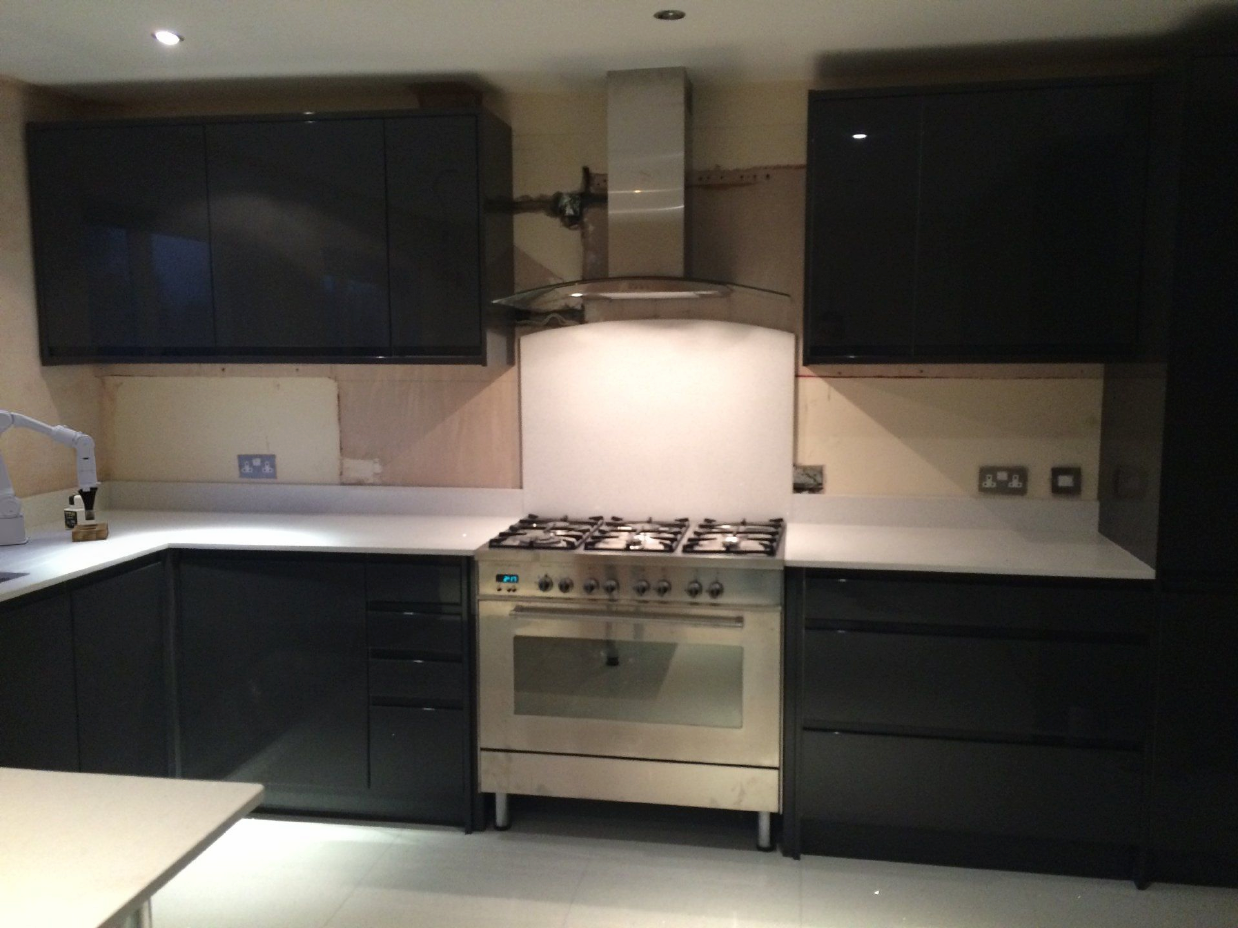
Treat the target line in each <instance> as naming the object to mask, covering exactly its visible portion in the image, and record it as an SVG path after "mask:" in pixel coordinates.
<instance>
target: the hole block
mask: <svg viewBox="0 0 1238 928" xmlns="http://www.w3.org/2000/svg"><path fill="white" fill-rule="evenodd" d="M108 535H109V522H98V523H96V524H84V525H75V527H74V528H73V529H71V540H72V541H71V543H79V542H80V541H81V542H90V541H103V540H105V541H106V540H107V538H108Z"/></svg>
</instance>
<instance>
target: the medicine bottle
mask: <svg viewBox="0 0 1238 928" xmlns="http://www.w3.org/2000/svg"><path fill="white" fill-rule="evenodd" d="M68 505H69V507H68V508H64V509H63V512H64V513H63V515H64V527H65V529H66V530H73V528H74V527H75V525H84V524H97V522H96V519H95V520H85V511H84V503H83V500H82V498H81V496H80V494H79V493H77V494H71V495H70V496H68ZM95 511H96V510H95V509H94V512H95Z"/></svg>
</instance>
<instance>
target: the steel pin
mask: <svg viewBox="0 0 1238 928" xmlns="http://www.w3.org/2000/svg"><path fill="white" fill-rule="evenodd" d="M94 510H95V505H94V506H93V510H89V511H86V510H85V507H84V511H85V520H95V521H96V514H95V512H94Z"/></svg>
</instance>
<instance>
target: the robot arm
mask: <svg viewBox="0 0 1238 928" xmlns="http://www.w3.org/2000/svg"><path fill="white" fill-rule="evenodd" d="M12 425H13V429H16V428H27V429H30V430H33V431H36V432H38V433H41V434H44V435H46V436H49V437H50V440H51V441H52V442H55V443H58V444H60V445H63V446H66V447H68V448H71V449H72V448H75V449H76V457H75V459H76V472H77V487H80V488H79V490H78V491H77V494H80V496H81V498H82V500H83V503H84V507H85V510H86V511H89V510H93V506H94V507H95V501H96V495H97V492H98V490H99V487H98V486H99V485H101V484H102V483H101V482H102V481H98V478H97V467H96V466H97V465H96V462H97V461H96V456H95V450H94V448H95V446H96V444H95V441H94V439H93V438H92V437H91V436H90V435H88V434H86V433H83V432H82V431H76V430H73V429H71V428H69V427H68V426H67V425H65V424H63V425H60V424H59V425H56V426H52V425H49V424H46V423H44V422H42V421H39V420H37V419H35V418H32V417H29V416H26V415H25V414H20V413H17V412H14V411H11V412H10V411H8V410H6V409H0V437H1V436H2V434H3V433H4V432H6V431H7V430H9V428H11V426H12ZM21 510H22V500H21V499H20V497H18V496H17V494H16V492H15V490H14V487H13V485H12V482H11V478H10V475H9V472H8V470H7V467H6V463H5V460H4V457H3V455H2V451H1V450H0V546H8V545H21V544H27V542H28V541H29V540H30V539H29V538H28V537H26V527H25V515H24V513H22V512H21Z"/></svg>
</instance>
